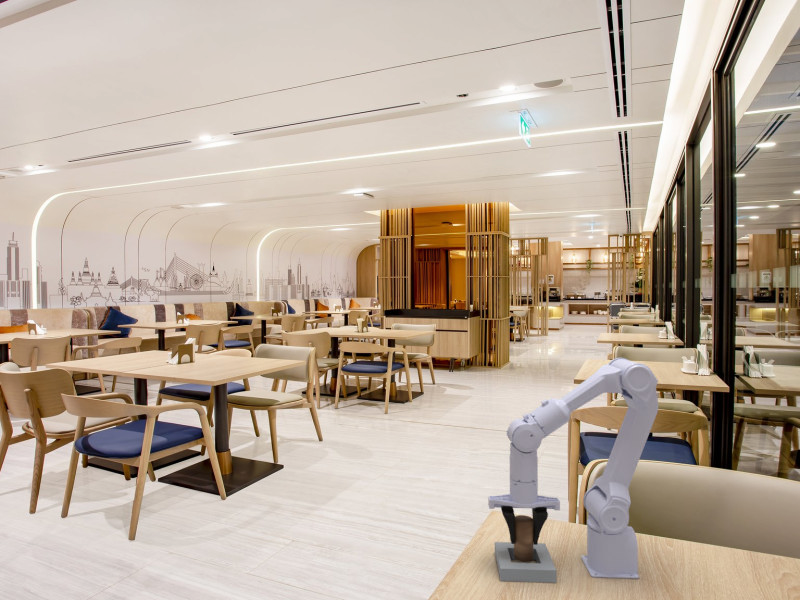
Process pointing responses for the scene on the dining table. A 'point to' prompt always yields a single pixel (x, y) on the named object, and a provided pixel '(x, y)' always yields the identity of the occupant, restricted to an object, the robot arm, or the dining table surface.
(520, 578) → the socket block
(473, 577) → the dining table surface
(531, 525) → the plug
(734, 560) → the dining table surface
